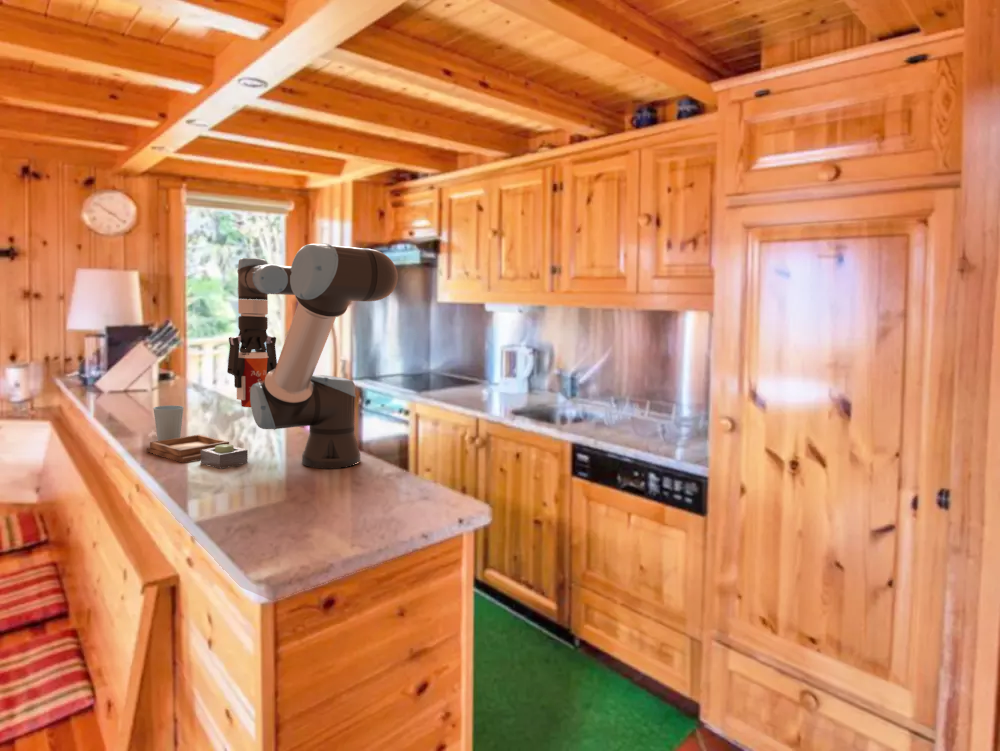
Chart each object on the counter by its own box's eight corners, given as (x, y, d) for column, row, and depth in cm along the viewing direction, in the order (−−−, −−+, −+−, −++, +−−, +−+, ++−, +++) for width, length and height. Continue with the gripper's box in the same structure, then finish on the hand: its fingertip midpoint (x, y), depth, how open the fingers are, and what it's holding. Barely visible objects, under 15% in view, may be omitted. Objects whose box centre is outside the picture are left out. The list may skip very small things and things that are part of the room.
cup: (150, 446, 178) (149, 409, 177) (158, 440, 186) (157, 405, 185) (179, 446, 180) (179, 409, 179) (186, 440, 188) (186, 405, 187)
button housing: (247, 462, 166) (247, 449, 165) (219, 468, 159) (219, 455, 159) (228, 457, 170) (228, 444, 170) (200, 463, 163) (200, 450, 163)
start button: (237, 461, 165) (237, 446, 165) (221, 464, 161) (221, 449, 161) (226, 458, 167) (226, 443, 167) (211, 461, 164) (211, 446, 163)
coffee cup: (257, 408, 172) (257, 353, 170) (230, 406, 174) (230, 352, 172) (274, 404, 180) (274, 351, 179) (248, 402, 182) (248, 350, 180)
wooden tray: (235, 452, 176) (235, 442, 175) (183, 462, 163) (183, 451, 163) (198, 443, 184) (198, 433, 184) (146, 452, 172) (146, 441, 171)
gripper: (274, 315, 185) (274, 393, 187) (211, 314, 168) (212, 400, 170) (291, 316, 181) (291, 396, 183) (229, 315, 164) (229, 403, 166)
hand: (253, 398), depth 177 cm, fingers closed on coffee cup, 7 cm apart
